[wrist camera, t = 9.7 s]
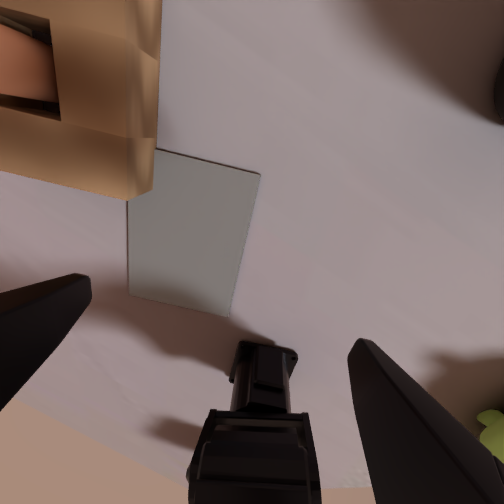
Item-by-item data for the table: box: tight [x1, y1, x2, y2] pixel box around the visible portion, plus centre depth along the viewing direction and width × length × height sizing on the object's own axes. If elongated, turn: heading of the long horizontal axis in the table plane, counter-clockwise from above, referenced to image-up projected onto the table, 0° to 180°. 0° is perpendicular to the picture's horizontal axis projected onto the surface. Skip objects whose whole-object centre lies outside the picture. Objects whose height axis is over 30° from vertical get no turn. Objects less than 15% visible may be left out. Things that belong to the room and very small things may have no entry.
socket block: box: [0, 0, 162, 201], centre depth 14 cm, size 12×12×4 cm
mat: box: [128, 149, 261, 317], centre depth 21 cm, size 14×10×1 cm
